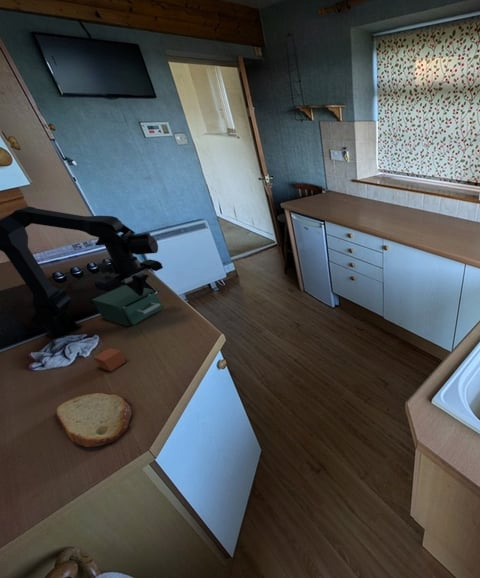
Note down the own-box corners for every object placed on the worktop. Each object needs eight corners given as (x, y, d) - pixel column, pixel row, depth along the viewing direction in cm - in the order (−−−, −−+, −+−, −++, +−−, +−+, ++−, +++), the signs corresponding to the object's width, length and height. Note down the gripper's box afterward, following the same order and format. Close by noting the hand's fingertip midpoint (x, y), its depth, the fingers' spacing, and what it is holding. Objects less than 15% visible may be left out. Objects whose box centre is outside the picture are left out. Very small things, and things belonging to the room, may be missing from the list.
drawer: (171, 310, 114) (164, 295, 110) (141, 327, 104) (133, 311, 101) (140, 302, 118) (133, 287, 115) (109, 317, 109) (101, 302, 106)
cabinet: (161, 308, 116) (153, 289, 112) (128, 326, 106) (117, 306, 102) (137, 301, 120) (128, 283, 116) (103, 318, 110) (91, 299, 106)
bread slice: (65, 403, 78) (58, 394, 76) (145, 385, 83) (140, 376, 82) (22, 469, 63) (11, 459, 61) (122, 442, 69) (115, 432, 67)
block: (110, 371, 88) (103, 360, 85) (100, 367, 89) (93, 357, 87) (125, 361, 91) (119, 351, 89) (116, 358, 92) (109, 347, 90)
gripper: (133, 242, 107) (150, 279, 115) (72, 262, 92) (96, 304, 100) (155, 246, 104) (171, 284, 112) (96, 268, 89) (119, 310, 97)
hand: (140, 295), depth 105 cm, fingers closed
